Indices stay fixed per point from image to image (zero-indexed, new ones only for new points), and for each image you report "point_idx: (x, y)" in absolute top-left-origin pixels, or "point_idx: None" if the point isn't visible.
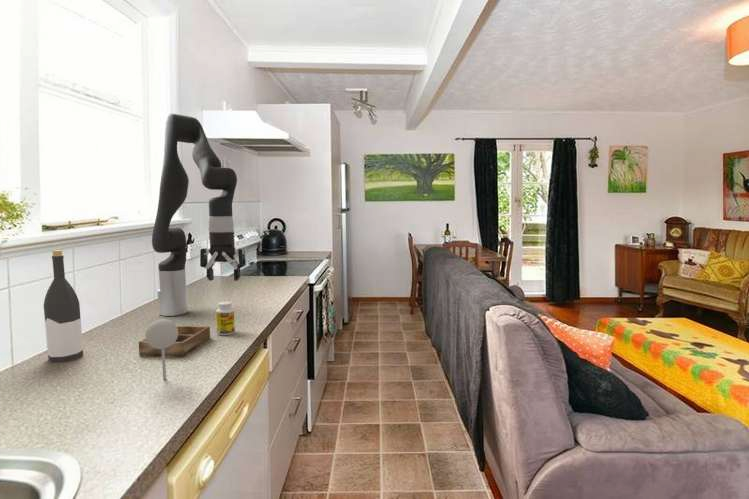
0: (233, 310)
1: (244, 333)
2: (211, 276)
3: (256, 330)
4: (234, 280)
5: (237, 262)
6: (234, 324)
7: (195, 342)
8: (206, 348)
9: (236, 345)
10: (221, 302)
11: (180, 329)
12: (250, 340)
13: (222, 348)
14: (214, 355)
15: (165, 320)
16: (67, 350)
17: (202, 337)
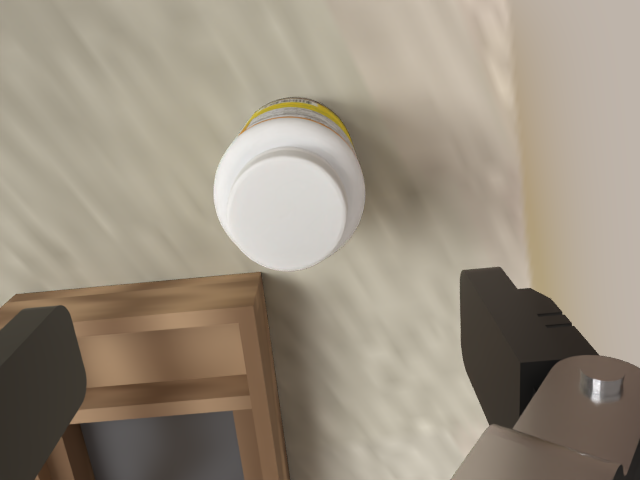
0: (364, 184)
1: (420, 131)
2: (55, 395)
3: (477, 48)
4: (466, 358)
5: (630, 478)
6: (350, 139)
7: (279, 440)
8: (332, 405)
9: None
10: (240, 203)
11: None
12: (516, 254)
13: (415, 392)
14: (424, 475)
15: None
16: None
17: (269, 374)
